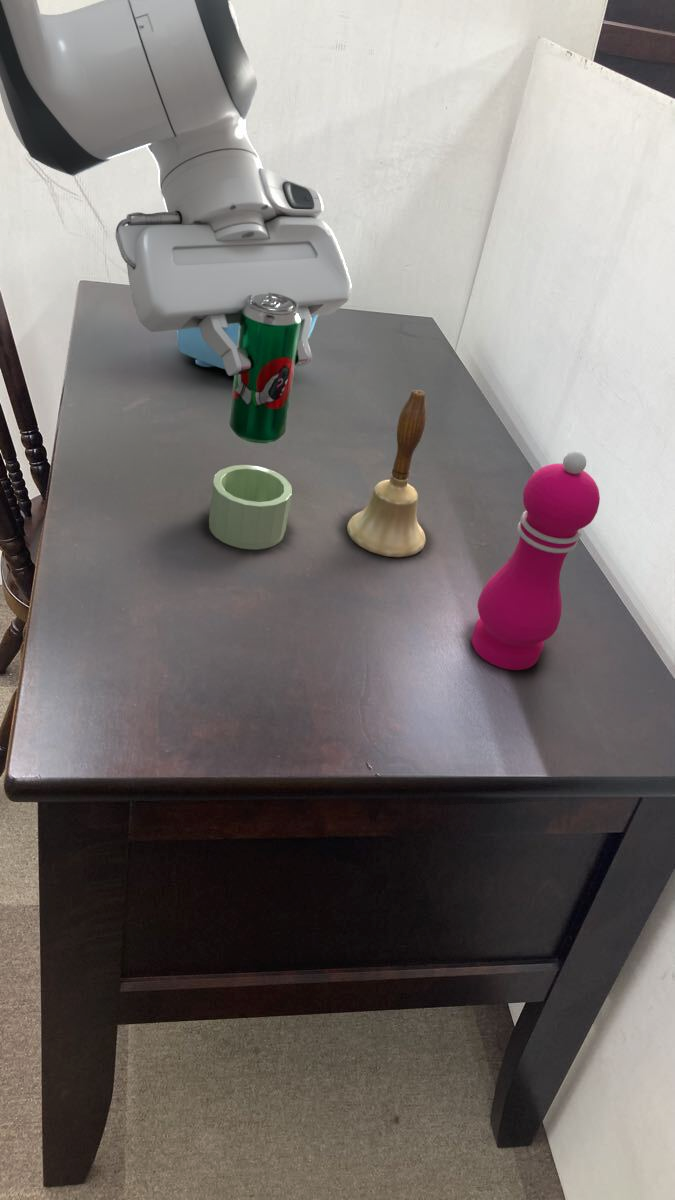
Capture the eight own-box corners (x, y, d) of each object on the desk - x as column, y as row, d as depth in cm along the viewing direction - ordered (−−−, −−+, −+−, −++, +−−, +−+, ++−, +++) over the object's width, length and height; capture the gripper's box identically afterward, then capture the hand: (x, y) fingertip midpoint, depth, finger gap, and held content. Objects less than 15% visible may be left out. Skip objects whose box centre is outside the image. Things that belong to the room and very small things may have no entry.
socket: (224, 554, 85) (230, 509, 82) (197, 511, 90) (202, 467, 87) (296, 544, 88) (304, 501, 85) (267, 504, 93) (273, 462, 90)
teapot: (184, 387, 112) (193, 280, 104) (166, 335, 124) (173, 235, 116) (322, 393, 118) (341, 292, 110) (292, 343, 130) (307, 249, 122)
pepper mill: (550, 680, 78) (634, 483, 66) (470, 668, 78) (541, 467, 66) (536, 628, 84) (611, 439, 72) (461, 617, 83) (526, 424, 72)
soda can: (293, 429, 82) (311, 301, 75) (271, 452, 78) (289, 319, 71) (242, 413, 83) (256, 285, 76) (219, 435, 79) (231, 302, 72)
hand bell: (356, 556, 88) (390, 409, 79) (339, 511, 95) (369, 370, 85) (434, 559, 91) (476, 416, 81) (413, 514, 97) (450, 377, 87)
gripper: (123, 192, 67) (180, 368, 67) (334, 192, 79) (382, 342, 79) (95, 233, 72) (148, 397, 73) (297, 227, 84) (342, 368, 84)
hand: (272, 368), depth 76 cm, fingers closed on soda can, 5 cm apart
